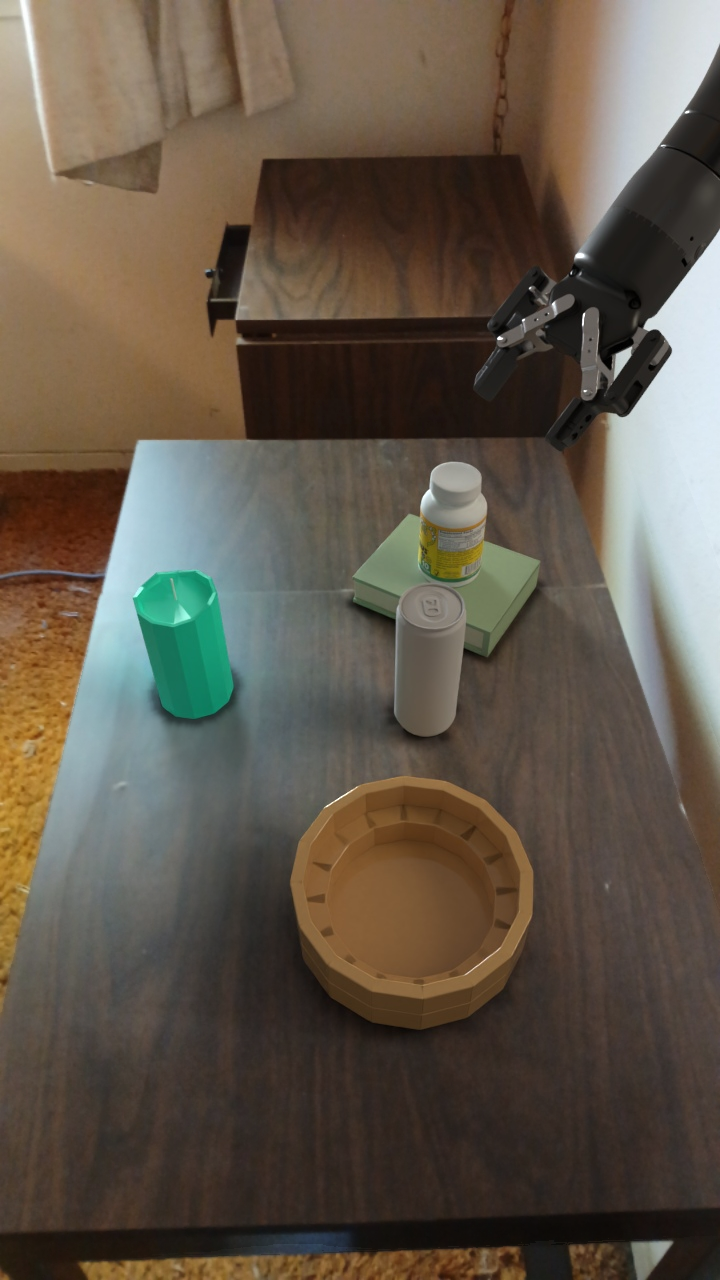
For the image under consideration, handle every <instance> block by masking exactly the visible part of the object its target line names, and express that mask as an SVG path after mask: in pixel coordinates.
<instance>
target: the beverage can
mask: <svg viewBox="0 0 720 1280" xmlns="http://www.w3.org/2000/svg"><path fill="white" fill-rule="evenodd" d="M465 627H466V610H465V602H464V600H463V597H462V596H461V595H460V594H459V593H458V592H457V591H456V590H454V589H453V588H451V587H449V586H446V585H443V584H439V583H422V584H418V585H415V586H412V587H411V588H409V589H408V590H406V591H405V592H404V593H403V594H402V595H401V598H400V600H399V605H398V607H397V613H396V619H395V656H394V657H395V660H394V661H395V663H394V664H395V666H394V705H393V706H394V707H393V714H394V716H395V719H396V721H397V723H399V724H400V726H401V727H402V728H403V729H404V730H405V731H407V732H408V733H410V734H412V735H413V736H414V735H415V736H418V737H427V738H428V737H434V736H437V735H439V734H442V733H444V732H445V731H447V730H448V729H449V728H450V727H451V726H452V724H453V723H454V720H455V718H456V715H457V705H458V697H459V696H458V695H459V688H460V682H461V681H460V680H461V672H462V663H463V655H464V648H463V646H464V637H465Z"/></svg>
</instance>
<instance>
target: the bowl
mask: <svg viewBox="0 0 720 1280" xmlns="http://www.w3.org/2000/svg"><path fill="white" fill-rule="evenodd" d="M289 886H290V888H289V889H290V894H291V901H292V910H293V915H294V921H295V926H296V930H297V936H298V940H299V941H298V942H299V945H300V951H301V956H302V959H303V961H304V963H305V965H307V967H308V968H309V970H310V971H311V973H312V974H313V976H314V977H315V978H316V980H317V981H318V982H319V984H320V985H321V987H322V988H323V990H324V991H325V993H326V994H327V995H328V996H329V997H330V998H331V999H333V1000H334V1001H336V1002H337V1003H339V1004H341V1005H342V1006H344V1007H346V1008H347V1009H349V1010H350V1011H352V1012H354V1013H356V1014H357V1015H358V1016H360V1017H362V1018H363V1019H365V1020H366V1021H369V1022H370V1023H372V1024H379V1025H387V1026H393V1027H399V1028H406V1029H412V1030H418V1031H419V1030H424V1029H428V1028H429V1029H430V1028H433V1027H438V1026H440V1025H444V1024H448V1023H452V1022H456V1021H460V1020H464V1019H466V1018H469V1017H470V1016H471V1015H473V1014H474V1013H475V1012H477V1011H478V1010H479V1009H480V1008H481V1007H483V1006H484V1005H485V1004H486V1003H488V1002H489V1001H490V1000H492V998H494V997H495V996H497V995H498V994H499V993H500V992H501V991H502V990H504V989H505V987H506V985H507V983H508V981H509V979H510V977H511V974H512V972H513V971H514V969H515V966H516V965H517V963H518V961H519V958H520V957H521V955H522V953H523V951H524V947H525V944H526V941H527V937H528V934H529V933H528V932H529V929H530V926H531V922H532V919H533V914H534V913H533V911H534V909H533V907H534V870H533V867H532V865H531V863H530V860H529V858H528V856H527V853H526V849H524V845H523V843H522V841H521V839H520V836H519V834H518V831H516V830H515V828H514V827H513V826H512V825H511V824H510V823H509V822H508V821H507V820H506V819H505V818H504V817H503V816H502V815H501V814H500V813H499V812H498V811H497V810H496V809H495V808H494V807H493V806H492V805H491V803H489V802H488V801H487V800H486V799H485V798H482V797H480V796H478V795H476V794H474V793H472V792H470V791H468V790H465V789H464V788H462V787H459V786H458V785H456V784H453V783H451V782H449V781H446V780H441V779H440V780H439V779H432V778H424V777H415V776H407V775H403V776H402V775H401V776H396V777H391V778H387V779H386V778H385V779H382V780H381V779H380V780H377V781H372V782H367V783H363V784H359V785H358V786H356V787H354V788H353V789H351V790H350V791H347V793H345V794H343V795H341V796H339V798H337V799H335V800H334V801H332V802H331V803H329V804H327V805H326V806H324V807H323V808H322V810H321V811H320V813H319V814H318V815H317V817H316V818H315V819H314V821H313V822H312V823H311V825H310V826H309V827H308V829H307V830H306V831H305V833H304V834H303V836H302V837H301V838H300V840H299V841H298V844H297V849H296V854H295V857H294V862H293V866H292V870H291V876H290V880H289Z"/></svg>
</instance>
